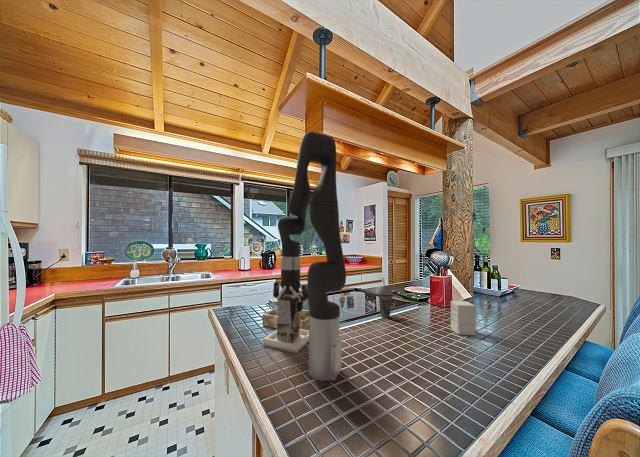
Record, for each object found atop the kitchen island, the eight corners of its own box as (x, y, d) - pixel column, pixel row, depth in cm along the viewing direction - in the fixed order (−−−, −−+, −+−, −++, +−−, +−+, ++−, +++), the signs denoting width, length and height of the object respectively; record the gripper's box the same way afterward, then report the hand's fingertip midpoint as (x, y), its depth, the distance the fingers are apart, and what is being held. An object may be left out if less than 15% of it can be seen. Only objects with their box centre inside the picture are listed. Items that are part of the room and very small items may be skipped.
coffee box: (292, 345, 88) (293, 300, 89) (276, 343, 90) (277, 299, 90) (300, 335, 97) (301, 295, 98) (285, 333, 99) (286, 293, 99)
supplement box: (467, 329, 110) (467, 301, 110) (476, 335, 102) (476, 305, 103) (450, 328, 110) (450, 300, 111) (457, 334, 103) (457, 304, 103)
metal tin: (287, 321, 115) (288, 306, 115) (282, 324, 110) (282, 309, 111) (278, 319, 117) (279, 305, 117) (272, 323, 112) (273, 307, 112)
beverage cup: (394, 319, 120) (394, 279, 121) (379, 318, 121) (380, 278, 121) (390, 314, 128) (390, 276, 128) (376, 314, 128) (377, 276, 128)
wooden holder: (317, 322, 114) (317, 311, 114) (304, 333, 101) (304, 320, 101) (279, 316, 122) (279, 305, 122) (262, 325, 109) (262, 313, 109)
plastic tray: (313, 337, 97) (313, 331, 97) (296, 353, 84) (296, 345, 84) (283, 331, 103) (283, 325, 103) (263, 345, 90) (263, 338, 90)
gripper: (269, 267, 94) (269, 310, 93) (302, 270, 88) (302, 315, 87) (280, 265, 101) (279, 305, 100) (311, 267, 95) (310, 309, 94)
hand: (290, 309), depth 94 cm, fingers open, 8 cm apart
